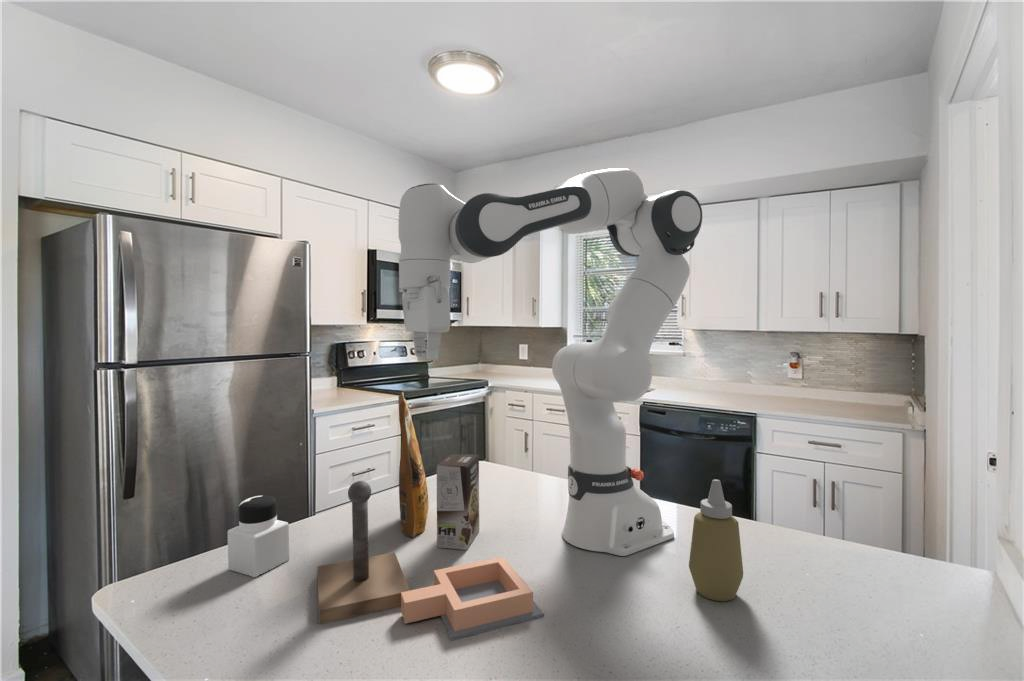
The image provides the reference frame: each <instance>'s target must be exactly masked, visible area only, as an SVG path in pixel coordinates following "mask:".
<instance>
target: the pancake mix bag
mask: <svg viewBox="0 0 1024 681" xmlns="http://www.w3.org/2000/svg"><path fill="white" fill-rule="evenodd" d="M404 396H405V394H404V391H401V393H400V394H399V395H398V418H399V419H398V422H399V427H400V433H401V446H400V460H399V467H398V498H399V515H400V516H399V517H400V525H401V533H402V534H403V536H407V537H411V538H415V537H416V536H417V535H419V534H420V535H421V534H423V533H424V532H425V530H426V524H427V519H428V518H427V517H428V513H429V508H430V507H429V506H430V505H429V492H428V491H429V490H428V485H427V478H426V473H425V469H424V465H423V461H422V455H421V452H420V447H419V441H418V438H417V436H416V431H415V427H414V422H413V420H412V416H411V412H410V409H409V405H408V402H407V400H406V398H405V397H404Z"/></svg>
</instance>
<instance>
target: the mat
mask: <svg viewBox="0 0 1024 681" xmlns="http://www.w3.org/2000/svg"><path fill="white" fill-rule="evenodd" d="M455 591H456V593H457V595H458V597H459V598H460V600H461V602H465V601H470V600H474V599H478V598H483V597H487V596H492V595H496V594H500V593H505V592H507V591H506V589H505V588H504V587H503V585H502V584H501V583H500V581H499V580H496V581H491V582H487V583H482V584H477V585H473V586H468V587H464V588H459V589H455ZM544 616H545V615H544V612H543V611H542V609H541V608H540V607H539V606H538V604H536V602H535V601H534V600H533V612H530V613H526V614H522V615H518V616H515V617H511V618H507V619H503V620H499V621H495V622H491V623H487V624H483V625H479V626H475V627H471V628H467V629H463V630H459V631H454V629H453V627H452V625H451V623H450V621H449V619H448V617H447V615H446V614H444V615H440V619H441V621H442V623H443V625H444V627H445V630H446V632H447V634H448V636H449V638H450V640H451V641H453V640H457V639H460V638H464V637H465V638H466V637H469V636H473V635H476V634H480V633H484V632H488V631H492V630H497V629H498V628H499V629H500V628H503V627H507V626H510V625H516V624H518V623H522V622H527V621H532V620H535V619H538V618H542V617H544Z"/></svg>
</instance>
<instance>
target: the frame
mask: <svg viewBox="0 0 1024 681" xmlns="http://www.w3.org/2000/svg"><path fill="white" fill-rule="evenodd" d="M496 580H499V581H500V583H501V584H502V585H503V587H504V588H505V589H506V591H507V592H505V593H500V594H496V595H492V596H487V597H483V598H478V599H474V600H470V601H465V602H461V600H460V598H459V597H458V595H457V593H456V591H455V589H459V588H464V587H468V586H473V585H477V584H482V583H487V582H491V581H496ZM533 601H534V591H533V590H532V589H531V588H530V586H529V585H528V584H527V583H526V582H525V580H524V579H523V578H522V577H521V576H520V575H519V573H518V572H517V571H516V570H515V569H514V568H513V566H512V565H511V564H510V563H509V561H508V560H507V559H506V558H505V557H504V556H500V557H494V558H490V559H485V560H484V559H483V560H479V561H474V562H470V563H465V564H460V565H459V564H458V565H454V566H449V567H444V568H440V569H439V568H438V569H435V570H433V585H430V586H426V587H420V588H415V589H411V590H410V591H406V592H401V606H400V608H401V609H400V610H401V615H402V618H403V622H404V624H410V623H414V622H418V621H423V620H425V619H431V618H435V617H439V616H440V615H444V614H446V615H447V617H448V619H449V621H450V623H451V625H452V627H453V629H454V631H459V630H463V629H467V628H471V627H475V626H479V625H483V624H487V623H491V622H495V621H499V620H503V619H507V618H511V617H515V616H518V615H522V614H526V613H530V612H533ZM440 617H441V616H440Z"/></svg>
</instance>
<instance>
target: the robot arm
mask: <svg viewBox="0 0 1024 681" xmlns="http://www.w3.org/2000/svg"><path fill="white" fill-rule="evenodd" d="M644 190H645V189H644V185H643V181H642V179H641V178H640V176H639V175H638V173H636V172H635V171H633V170H632V169H629V168H607V169H600V170H594V171H590V172H586V173H583V174H578V175H575V176H573V177H570V178H568V179H566V180H564V181H562V182H560V183H559V184H556V186H554V188H553V189H549V190H545V191H540V192H537V193H533V194H526V195H523V196H506V195H502V194H499V193H490V192H488V193H487V192H485V193H480V194H477V195H475V196H473V197H471V198H469V199H468V200H467V201H466V202H464V201H462V200H460V199H459V198H457V197H456V196H455V195H453V194H452V193H451V192H449V191H448V189H447V188H446V187H445V186H444V185H442V184H438V183H423V184H418V185H415V186H412V187H410V188H408V189H407V190H406V191H405V192H404V193H403V194H402V196H401V199H400V202H399V208H398V228H397V229H398V239H399V243H400V254H399V258H398V277H399V278H398V279H399V280H398V291H399V293H402V294H401V301H402V302H401V303H402V311H403V323H404V327H405V330H406V332H412V333H411V334H412V335H411V336H412V341H413V342H412V343H413V346H414V355H415V357H421V358H422V357H426V360H428V361H437V360H439V355H440V354H439V352H440V351H439V350H440V345H441V340H442V333H448V332H449V331H450V328H451V308H450V306H451V305H450V296H449V290H450V289H451V260H454V261H456V262H457V261H458V262H462V263H466V264H475V263H480V262H481V261H482V262H483V261H485V260H487V259H490V258H492V257H493V258H494V257H498V256H501V255H504V254H505V253H507V252H509V251H510V250H511V249H512V248H513V247H514V246H516V245H517V243H518V242H520V240H521V239H523V238H524V237H526V236H528V235H532V234H535V233H539V232H542V231H546V230H549V229H552V228H557V227H558V228H559V229H560V230H561V231H563V232H564V233H566V234H568V235H569V234H582V233H587V232H593V231H596V230H599V229H602V228H606V229H607V231H608V234H609V235H608V236H609V239H610V241H611V243H612V246H613V248H614V249H615V250H616V251H617V252H618V253H619V254H621V255H623V256H626V257H638V261H637V264H636V266H635V270H634V271H633V272H632V273H631V275H629V277H628V278H627V280H626V281H625V283H624V284H623V285H622V287H621V288H620V290H619V291H618V293H617V294H616V296H615V297H614V299H613V300H612V301H611V302H610V304H609V306H608V307H607V309H606V311H605V317H606V321H607V324H606V327H605V330H604V332H603V335H602V336H601V337H600V338H599V339H598V341H595V342H590V341H589V342H587V341H578V342H575V343H570V344H568V345H565V346H563V347H562V348H560V349H559V350H558V351H557V352H556V354H555V355H554V356H553V359H552V364H551V371H552V375H553V377H554V379H555V381H556V383H557V384H558V386H559V388H560V391H561V395H562V399H563V402H564V407H565V411H566V412H565V413H566V416H567V420H568V421H567V422H568V427H569V428H568V430H569V456H570V457H569V462H570V463H569V464H568V466H567V490H568V502H567V511H566V517H565V522H564V526H563V529H562V532H561V535H562V538H563V539H564V540H565V541H566V542H567V543H569V544H570V545H572V546H573V547H576V548H578V549H579V548H580V549H583V550H587V551H591V552H598V553H599V552H601V553H607V554H612V555H614V556H615V555H616V556H620V557H626V556H630V555H632V554H635V553H637V552H639V551H642V550H646V549H647V548H651V547H654V546H656V545H658V544H661V543H663V542H666V541H669V540H671V539H674V537H675V534H674V533H675V532H674V530H673V528H672V527H671V526H670V525H668V524H667V522H665V521H663V520H662V519H663V518H662V514H661V508H660V506H659V504H658V503H657V501H655V500H654V498H652V497H651V496H650V495H648V494H647V493H646V492H644V491H643V490H642V489H640V488H639V487H638V486H637V485H635V483H634V480H636V481H642V480H643V478H644V475H645V474H644V471H643V470H641V469H638V468H633V469H632V468H631V467H629V466H628V465H627V431H626V427H625V425H624V423H623V422H622V421H621V419H620V417H619V416H618V413H617V410H616V408H615V405H614V404H616V403H625V402H626V403H627V402H635V401H637V400H639V399H640V398H642V397H643V396H644V395H645V394H646V393H647V392H648V390H649V388H650V386H651V384H652V378H653V369H652V365H651V363H650V361H649V354H650V352H651V347H652V345H653V342H654V340H655V338H656V336H657V334H658V333H659V331H660V330H661V328H662V326H663V324H665V322H666V320H667V319H668V317H669V316H670V314H671V312H672V311H673V309H674V308H675V306H676V304H677V303H678V301H679V299H680V297H681V295H682V293H683V291H684V289H685V287H686V284H687V282H688V280H689V277H690V273H691V272H690V265H689V263H688V261H687V260H686V258H685V257H684V256H683V255H685V254H687V253H688V252H690V251H691V250H692V248H693V247H694V246H695V240H696V238H697V236H698V235H699V233H700V232H701V228H702V222H703V210H702V204H701V203H700V202H699V200H698V198H697V197H696V196H695V195H694V194H693V193H692V192H690V191H687V190H682V189H675V190H668V191H665V192H663V193H661V194H659V195H655V196H651V197H649V196H648V195H647V194H645V192H644ZM425 338H426V341H427V343H426V342H425ZM426 344H427V345H426ZM633 479H634V480H633Z"/></svg>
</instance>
